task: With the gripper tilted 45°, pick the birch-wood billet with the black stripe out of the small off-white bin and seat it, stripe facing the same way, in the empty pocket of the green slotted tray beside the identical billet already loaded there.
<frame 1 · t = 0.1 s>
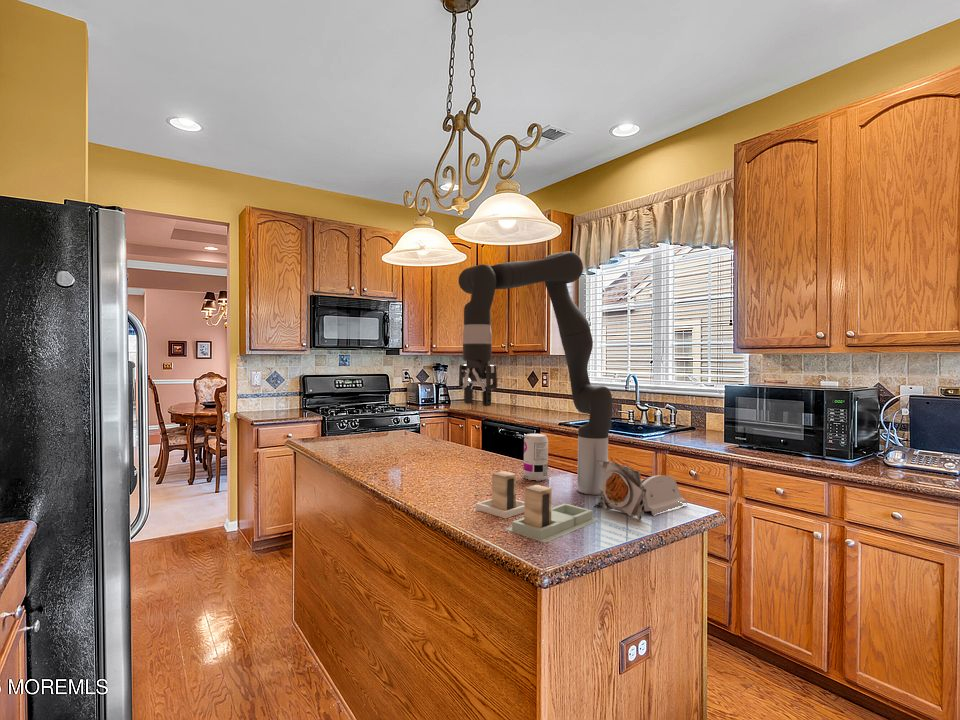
hand: (477, 404, 131), 29 cm above the countertop, tool pointing down, fingers open, 8 cm apart
green slotted tray: (553, 528, 123), on the countertop
supplement can: (535, 479, 173), on the countertop
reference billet: (537, 530, 118), point 1 cm above the countertop, touching green slotted tray
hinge: (659, 508, 141), on the countertop
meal: (618, 514, 136), on the countertop
billet: (503, 511, 134), resting on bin
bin: (503, 512, 134), on the countertop
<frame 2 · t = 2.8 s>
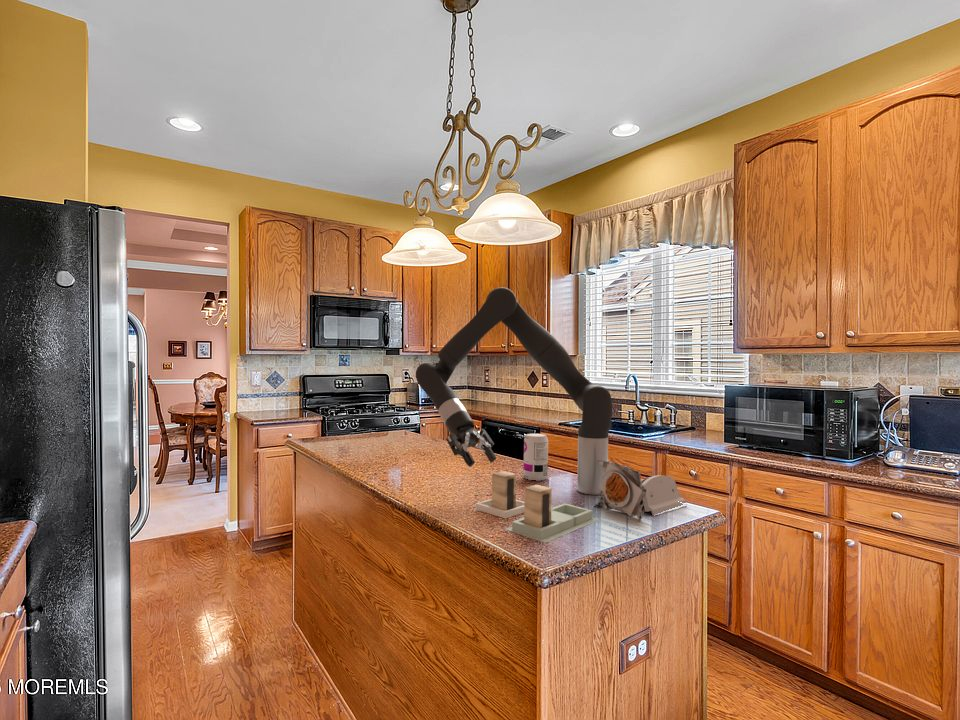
hand: (483, 462, 140), 12 cm above the countertop, tool tilted 45°, fingers open, 8 cm apart
nothing on the countertop moved.
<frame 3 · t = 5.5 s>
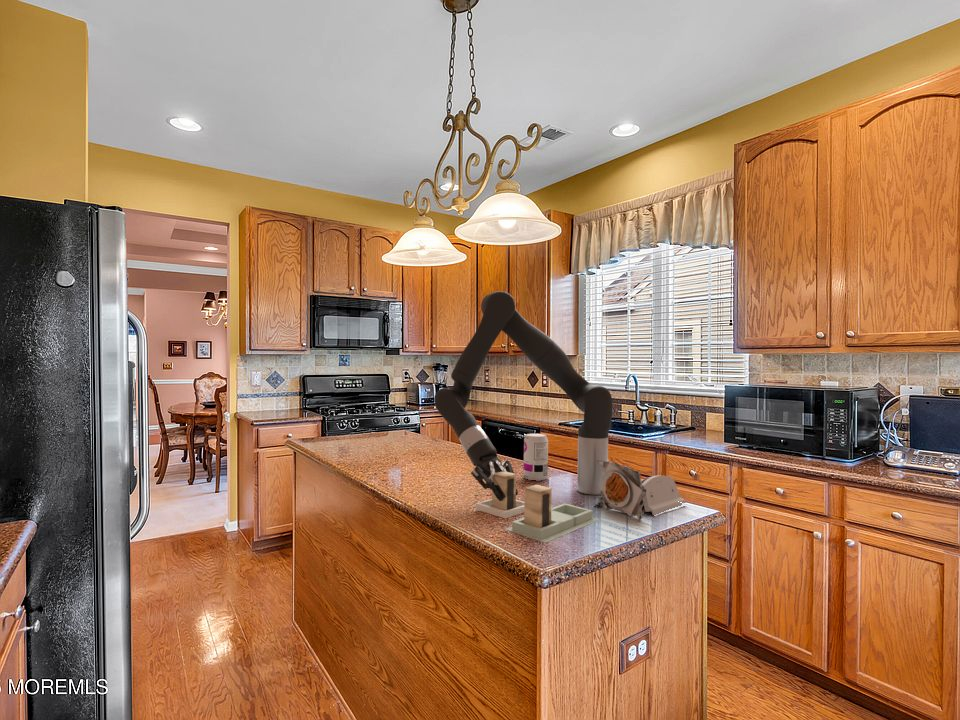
hand: (509, 497, 133), 5 cm above the countertop, tool tilted 45°, fingers closed on billet, 4 cm apart
billet: (503, 511, 134), resting on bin, touching gripper
everything else where it was.
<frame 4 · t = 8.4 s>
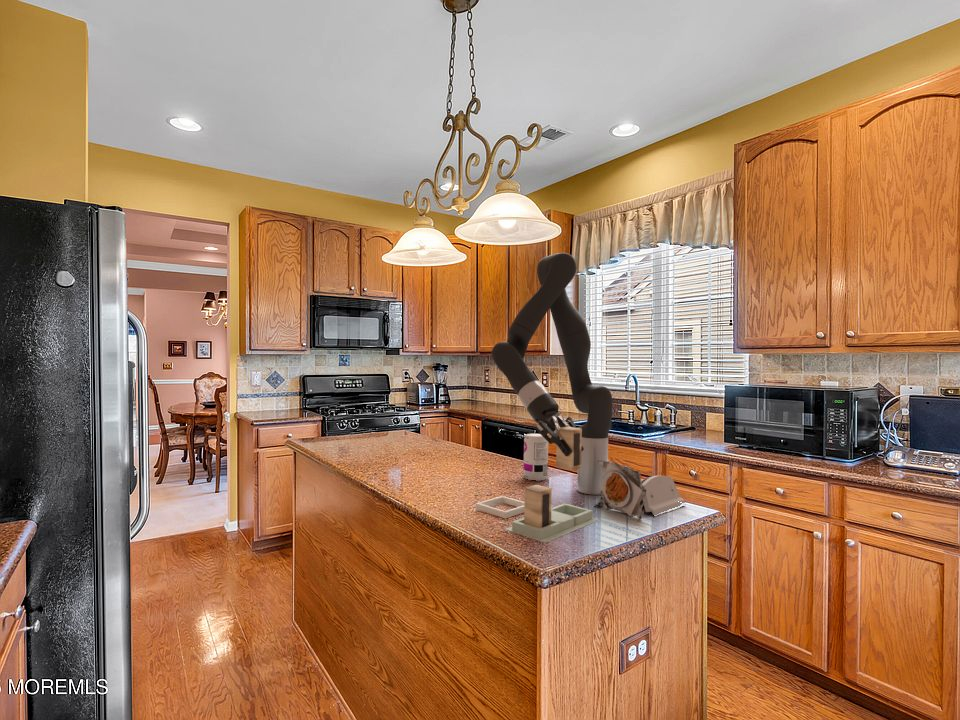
hand: (575, 452, 126), 18 cm above the countertop, tool tilted 45°, fingers closed on billet, 4 cm apart
billet: (568, 467, 128), point 14 cm above the countertop, touching gripper
everything else where it was.
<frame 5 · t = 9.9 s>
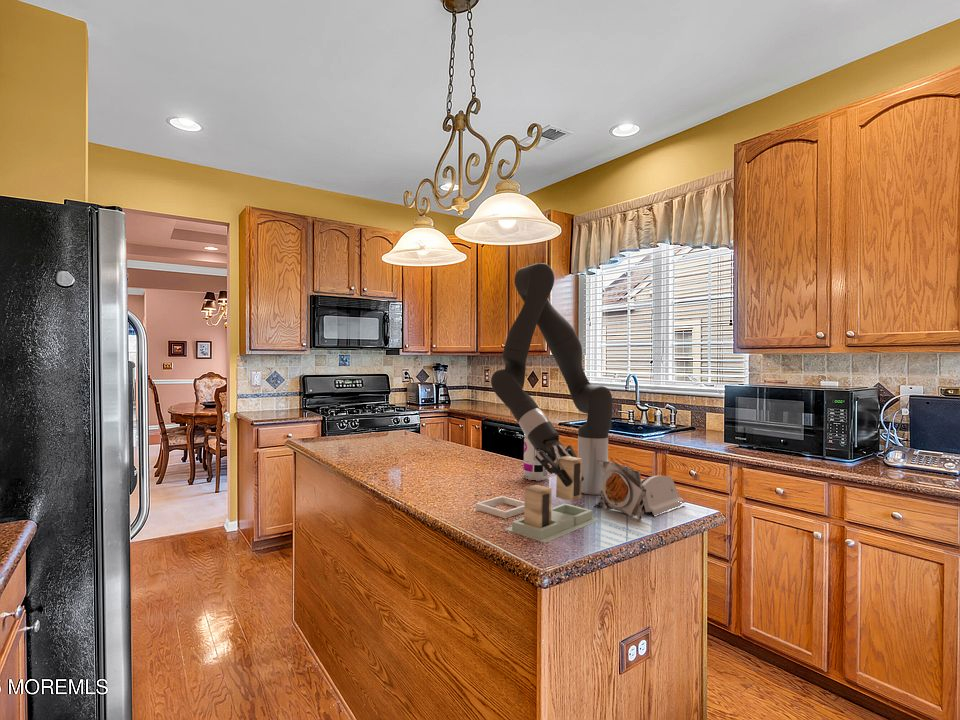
hand: (575, 482, 126), 10 cm above the countertop, tool tilted 45°, fingers closed on billet, 4 cm apart
billet: (568, 497, 128), point 6 cm above the countertop, touching gripper
everything else where it was.
when the fingers open (6 cm above the countertop, at t = 11.1 s): billet stays where it is, resting on green slotted tray.
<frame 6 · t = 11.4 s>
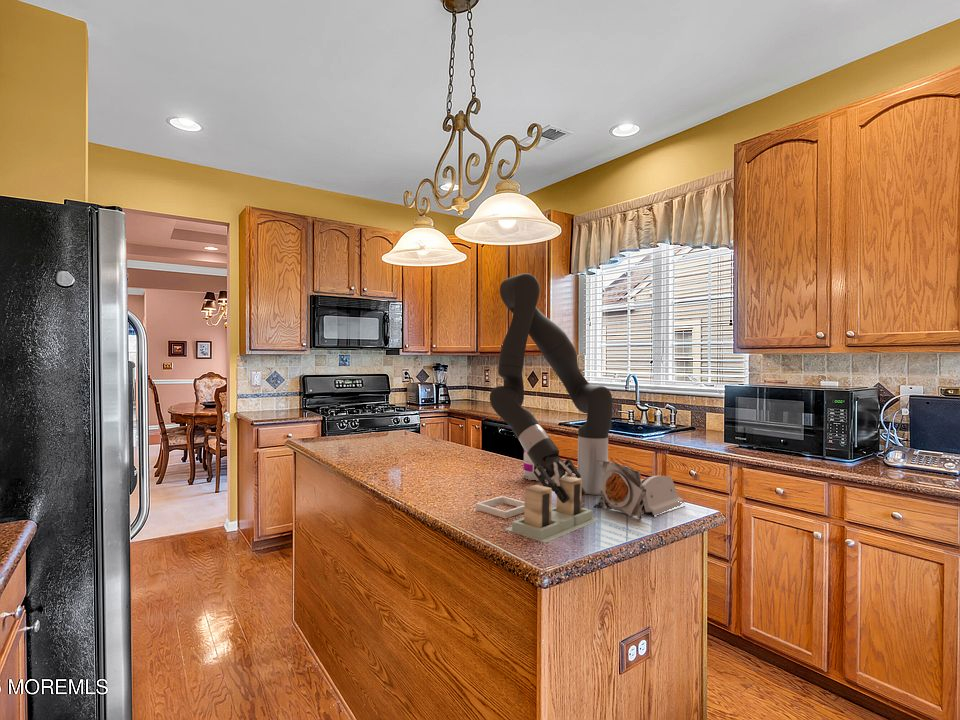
hand: (574, 498, 127), 6 cm above the countertop, tool tilted 45°, fingers open, 6 cm apart
billet: (568, 518, 128), point 1 cm above the countertop, touching green slotted tray
everything else where it was.
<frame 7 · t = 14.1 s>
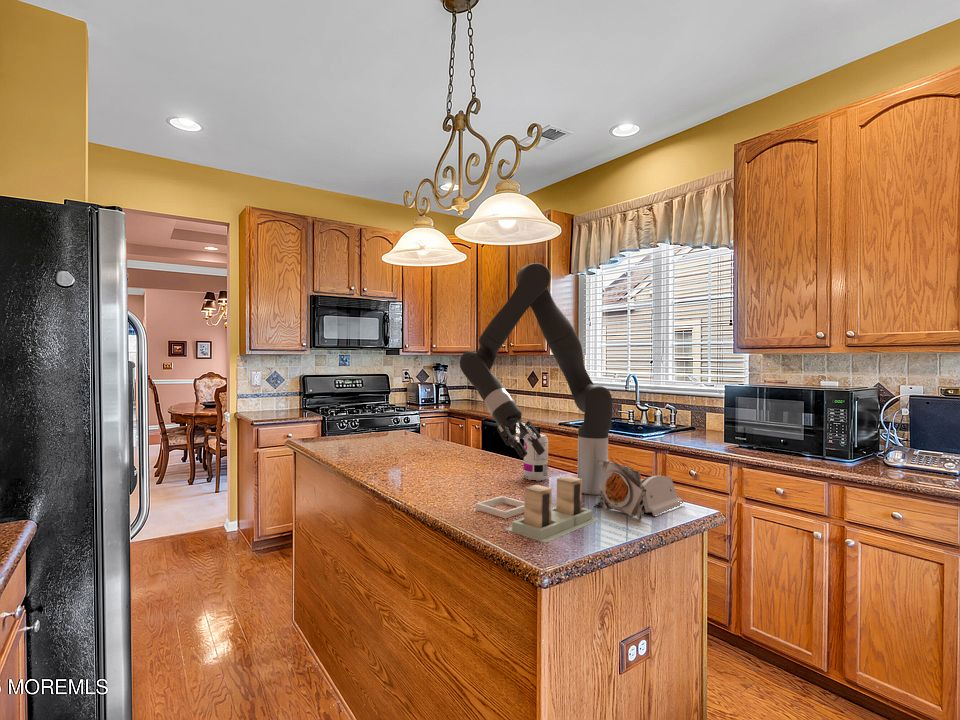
hand: (533, 454, 136), 15 cm above the countertop, tool tilted 45°, fingers open, 8 cm apart
nothing on the countertop moved.
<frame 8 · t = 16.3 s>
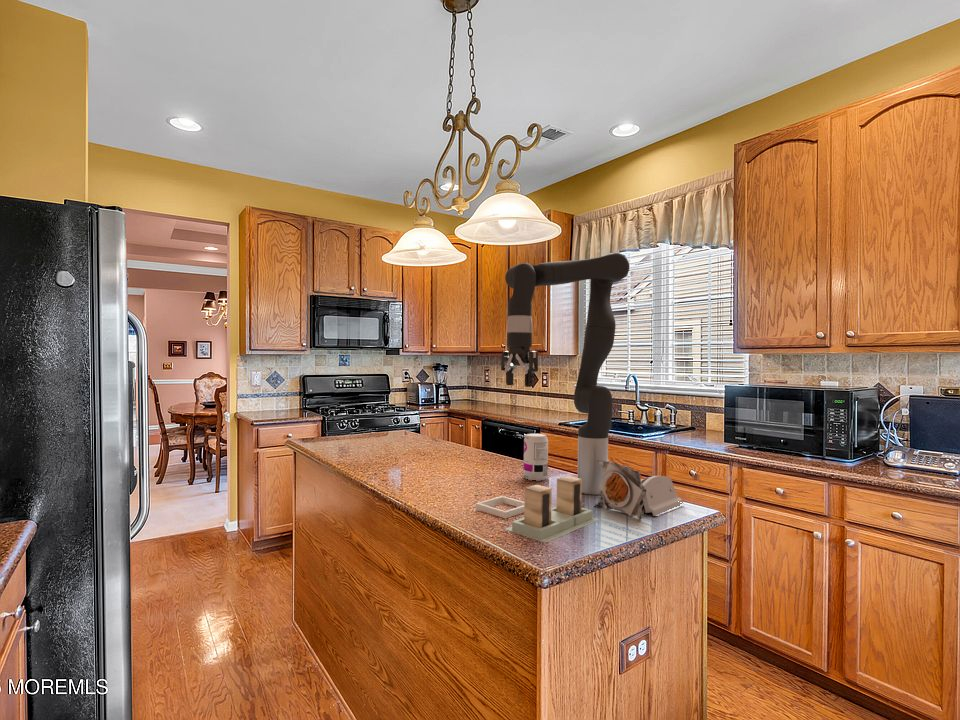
hand: (518, 386, 150), 33 cm above the countertop, tool pointing down, fingers open, 8 cm apart
at the end: billet 0.1 cm from the target spot on the green slotted tray, point 1.0 cm above the green slotted tray's base; billet tilted 0°; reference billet moved 0.0 cm from its start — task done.
